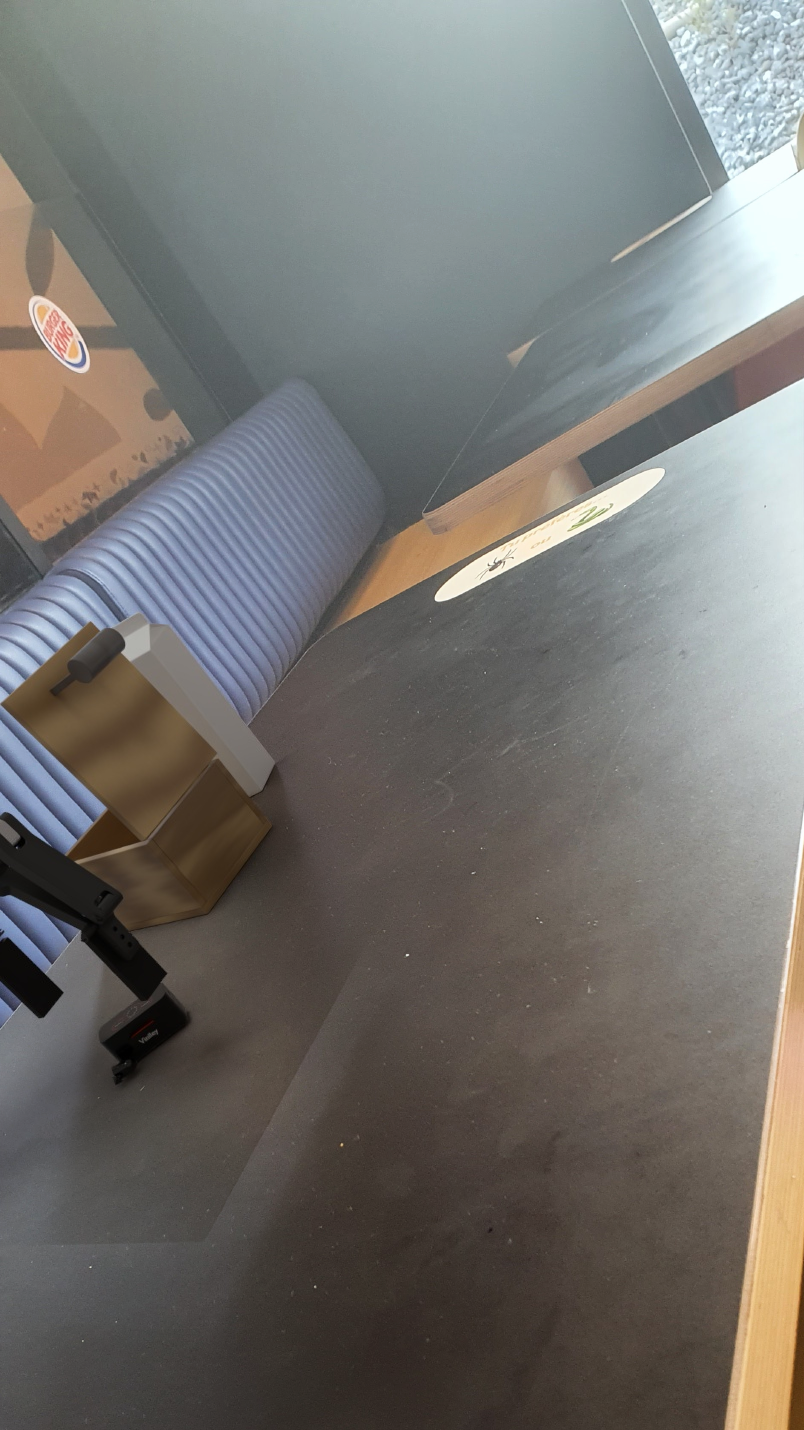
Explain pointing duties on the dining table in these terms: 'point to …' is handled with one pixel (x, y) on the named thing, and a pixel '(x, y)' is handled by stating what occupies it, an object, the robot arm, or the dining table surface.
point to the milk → (196, 699)
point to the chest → (176, 851)
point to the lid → (111, 728)
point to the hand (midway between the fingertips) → (101, 997)
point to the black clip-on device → (141, 1029)
